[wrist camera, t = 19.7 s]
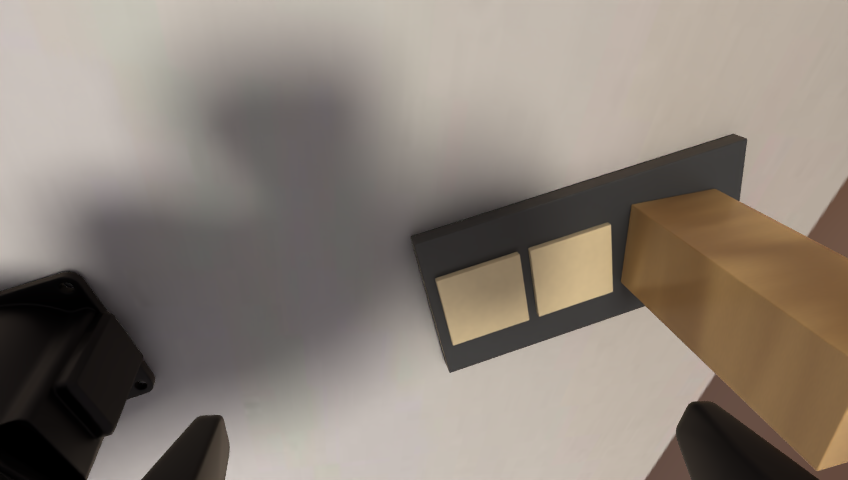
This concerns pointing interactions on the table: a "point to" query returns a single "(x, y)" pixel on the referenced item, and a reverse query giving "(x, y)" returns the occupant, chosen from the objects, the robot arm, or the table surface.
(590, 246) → the word board
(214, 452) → the robot arm
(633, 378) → the table surface
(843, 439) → the tall tan block
